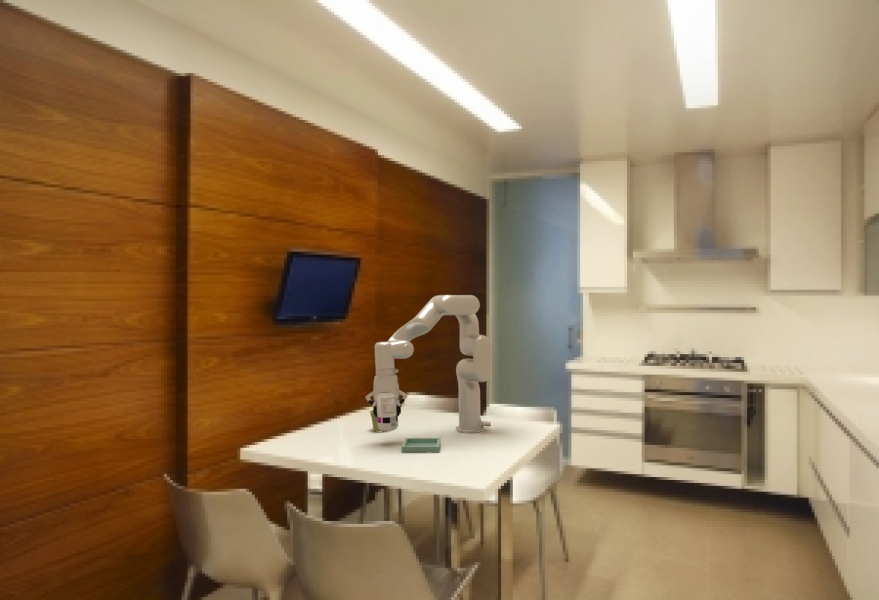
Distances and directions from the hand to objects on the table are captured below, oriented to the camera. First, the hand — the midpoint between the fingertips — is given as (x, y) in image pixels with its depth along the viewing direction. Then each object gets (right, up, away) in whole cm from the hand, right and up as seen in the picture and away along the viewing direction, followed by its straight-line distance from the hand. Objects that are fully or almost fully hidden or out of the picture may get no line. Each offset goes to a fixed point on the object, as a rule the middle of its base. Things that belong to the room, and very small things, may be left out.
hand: (387, 415), depth 217 cm
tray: (+14, -11, -8) cm, 19 cm away
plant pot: (-5, -12, +24) cm, 28 cm away
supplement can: (0, -5, 0) cm, 5 cm away
